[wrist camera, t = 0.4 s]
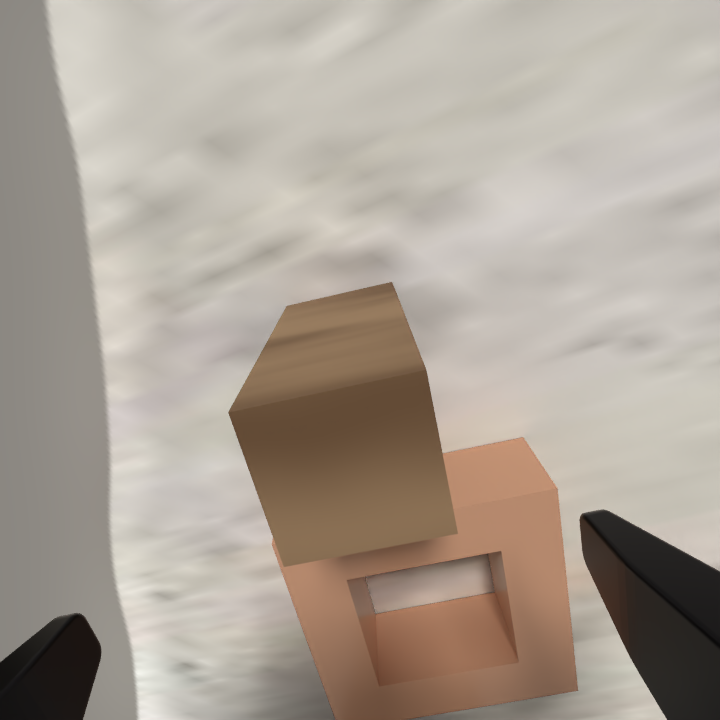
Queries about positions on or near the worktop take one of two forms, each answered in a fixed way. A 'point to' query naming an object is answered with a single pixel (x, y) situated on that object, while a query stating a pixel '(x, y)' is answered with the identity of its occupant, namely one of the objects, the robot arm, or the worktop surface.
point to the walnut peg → (344, 430)
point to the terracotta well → (450, 603)
